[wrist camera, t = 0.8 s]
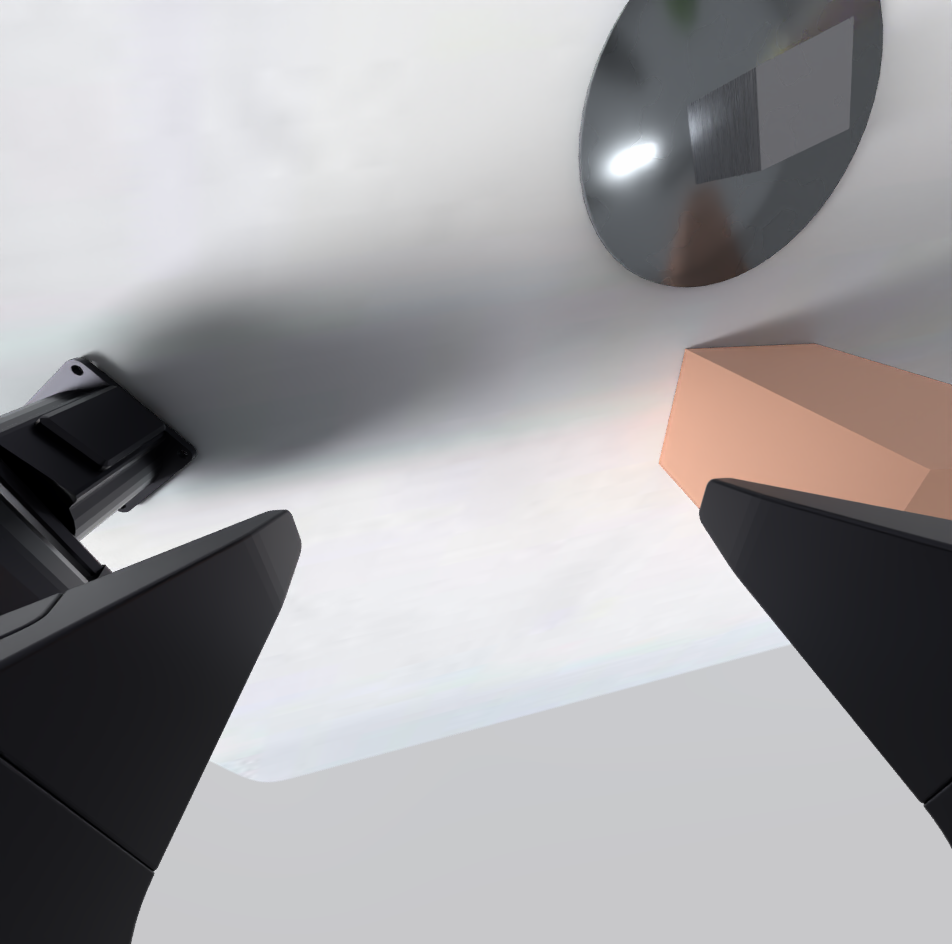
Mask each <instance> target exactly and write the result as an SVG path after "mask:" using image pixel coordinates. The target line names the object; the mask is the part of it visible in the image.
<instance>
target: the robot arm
mask: <svg viewBox="0 0 952 944" xmlns="http://www.w3.org/2000/svg"><path fill="white" fill-rule="evenodd" d="M78 366H79V367H81V368H82V370H83V372H82V371H81V370H80V369H79V368H78ZM182 450H183V451H185V452H186V453H187V455H186V454H184V453H183V452H182ZM196 455H197V451H196V449H195V448H194V447H193V446H192V445H191V444H190V443H188V442H187V441H186V440H185V439H184V438H182V437H181V436H180V435H179V434H178V433H176V432H175V431H174V430H173V429H171V428H170V427H169V426H168V425H167V424H165V423H164V422H163V421H162V420H160V419H159V418H158V417H157V416H156V415H154V414H153V413H152V412H151V411H149V410H148V409H147V408H146V407H145V406H143V405H142V404H141V403H140V402H138V401H137V400H136V399H135V398H134V397H132V396H131V395H130V394H129V393H128V392H126V391H125V390H124V389H123V388H121V387H120V386H119V385H118V384H117V383H115V382H114V381H113V380H112V379H110V378H109V377H108V376H107V375H106V374H104V373H103V372H102V371H101V370H99V369H98V368H97V367H96V366H95V365H93V364H92V363H91V362H90V361H88V360H86V359H84V358H74V359H71V360H68V361H67V362H66V363H65V364H64V365H63V366H62V367H61V368H60V369H59V370H58V371H57V372H56V373H55V374H54V375H53V376H52V377H51V378H50V379H49V380H48V381H47V382H46V383H45V385H44V386H43V387H42V388H41V389H40V390H39V391H38V392H37V393H36V394H35V395H34V396H33V397H32V398H31V399H30V400H29V401H28V402H27V403H26V404H25V405H24V406H23V407H21V408H19V409H16V410H14V411H11V412H9V413H6V414H3V415H1V416H0V944H131V941H132V936H133V932H134V928H135V923H136V920H137V917H138V914H139V911H140V908H141V905H142V902H143V899H144V897H145V894H146V892H147V889H148V887H149V885H150V883H151V880H152V878H153V876H154V871H155V870H156V869H157V868H158V866H159V864H160V862H161V859H162V857H163V855H164V853H165V851H166V849H167V847H168V845H169V843H170V841H171V838H172V836H173V834H174V832H175V830H176V828H177V826H178V824H179V822H180V820H181V818H182V816H183V813H184V811H185V809H186V807H187V805H188V803H189V801H190V799H191V797H192V795H193V792H194V790H195V788H196V786H197V784H198V782H199V780H200V778H201V776H202V774H203V772H204V769H205V767H206V765H207V763H208V761H209V759H210V757H211V755H212V753H213V751H214V749H215V747H216V744H217V742H218V740H219V738H220V736H221V734H222V732H223V730H224V728H225V726H226V724H227V721H228V719H229V717H230V715H231V713H232V711H233V709H234V707H235V705H236V703H237V701H238V698H239V696H240V694H241V692H242V690H243V688H244V686H245V684H246V682H247V680H248V678H249V675H250V673H251V671H252V669H253V667H254V665H255V663H256V661H257V659H258V657H259V655H260V652H261V650H262V648H263V646H264V644H265V642H266V640H267V638H268V636H269V634H270V632H271V629H272V627H273V625H274V623H275V621H276V619H277V617H278V615H279V612H280V610H281V608H282V606H283V603H284V600H285V598H286V595H287V592H288V589H289V586H290V583H291V580H292V577H293V574H294V571H295V568H296V565H297V562H298V559H299V556H300V553H301V539H300V536H299V533H298V530H297V528H296V525H295V522H294V519H293V516H292V514H291V513H290V512H289V511H288V510H272V511H267V512H265V513H262V514H259V515H257V516H254V517H252V518H249V519H247V520H244V521H242V522H239V523H237V524H234V525H232V526H229V527H227V528H224V529H222V530H219V531H216V532H214V533H211V534H209V535H206V536H204V537H201V538H199V539H196V540H194V541H191V542H189V543H186V544H184V545H181V546H179V547H176V548H173V549H171V550H168V551H166V552H163V553H161V554H158V555H156V556H153V557H151V558H148V559H146V560H143V561H141V562H138V563H136V564H133V565H130V566H128V567H125V568H123V569H120V570H118V571H115V572H113V573H112V571H111V570H110V569H109V568H108V567H107V566H106V565H101V564H100V563H99V562H98V560H97V559H96V558H95V557H94V556H93V555H92V554H91V553H90V552H89V551H88V550H87V549H86V548H85V547H84V546H83V545H82V544H81V543H80V540H81V539H83V538H84V537H85V536H86V535H88V534H89V533H90V532H91V531H93V530H94V529H95V528H96V527H97V526H99V525H100V524H101V523H102V522H104V521H105V520H106V519H107V518H109V517H110V516H111V515H112V514H113V513H115V512H116V511H117V510H118V511H120V512H128V511H130V510H131V509H132V508H134V507H135V506H136V505H137V504H139V503H140V502H141V501H142V500H143V499H145V498H146V497H147V496H148V495H150V494H151V493H152V492H153V491H155V490H156V489H157V488H158V487H159V486H161V485H162V484H163V483H164V482H166V481H167V480H168V479H169V478H171V477H172V476H173V475H174V474H176V473H177V472H178V471H179V470H180V469H182V468H183V467H184V466H185V465H187V464H188V463H189V462H190V461H192V460H193V459H194V458H195V457H196ZM699 516H700V520H701V523H702V524H703V526H704V527H705V529H706V531H707V532H708V534H709V535H710V537H711V538H712V540H713V541H714V543H715V545H716V546H717V548H718V549H719V551H720V552H721V554H722V555H723V557H724V558H725V560H726V562H727V563H728V565H729V566H730V568H731V569H732V570H733V572H734V573H735V575H736V576H737V577H738V578H739V580H740V581H741V582H742V583H743V585H744V586H745V587H746V588H747V590H748V591H749V592H750V593H751V595H752V596H753V597H754V598H755V599H756V601H757V602H758V603H759V604H760V606H761V607H762V608H763V609H764V611H765V612H766V613H767V614H768V615H769V617H770V618H771V619H772V620H773V622H774V623H775V624H776V625H777V627H778V628H779V629H780V630H781V631H782V633H783V634H784V635H785V636H786V638H787V639H788V640H789V641H790V643H791V644H792V645H793V646H794V647H795V648H796V650H797V651H798V652H799V654H800V655H801V656H802V657H803V659H804V660H805V661H806V662H807V663H808V665H809V666H810V667H811V668H812V670H813V671H814V672H815V673H816V675H817V676H818V677H819V678H820V679H821V680H822V682H823V683H824V684H825V685H826V687H827V688H828V689H829V691H830V692H831V693H832V694H833V695H834V696H835V698H836V699H837V700H838V702H839V703H840V704H841V705H842V707H843V708H844V709H845V710H846V711H847V712H848V714H849V715H850V716H851V717H852V719H853V720H854V721H855V723H856V724H857V725H858V726H859V727H860V729H861V730H862V731H863V732H864V734H865V735H866V736H867V737H868V738H869V740H870V741H871V742H872V743H873V745H874V746H875V747H876V748H877V749H878V751H879V752H880V753H881V755H882V756H883V757H884V758H885V759H886V761H887V762H888V763H889V764H890V766H891V767H892V768H893V769H894V770H895V772H896V773H897V774H898V775H899V776H900V778H901V779H902V780H903V782H904V783H905V784H906V785H907V787H908V788H909V789H910V790H911V792H912V793H913V794H914V795H915V796H916V798H917V799H918V800H919V801H920V802H921V803H924V807H925V809H926V810H927V811H928V813H929V814H930V815H931V817H932V818H933V819H934V821H935V822H936V824H937V825H938V826H939V828H940V829H941V831H942V832H943V834H944V836H945V838H946V839H947V841H948V842H949V844H950V846H951V848H952V520H948V519H943V518H938V517H933V516H927V515H922V514H917V513H912V512H906V511H901V510H896V509H891V508H886V507H880V506H875V505H870V504H865V503H860V502H854V501H849V500H844V499H839V498H834V497H828V496H823V495H818V494H813V493H808V492H802V491H797V490H792V489H787V488H781V487H776V486H771V485H766V484H761V483H755V482H750V481H745V480H740V479H735V478H715V479H711V480H710V481H709V482H708V483H707V485H706V488H705V492H704V495H703V499H702V502H701V506H700V510H699Z"/></svg>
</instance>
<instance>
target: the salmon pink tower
mask: <svg viewBox="0 0 952 944" xmlns="http://www.w3.org/2000/svg"><path fill="white" fill-rule="evenodd" d="M659 464H660V466H661V467H662V468H663V469H664V470H665V471H666V472H667V473H668V475H669V476H670V477H671V478H672V479H673V480H674V481H675V482H676V483H677V485H678V486H679V487H680V488H681V489H682V490H683V491H684V492H685V494H686V495H687V496H688V497H689V498H690V499H691V500H692V501H693V503H694V504H695V505H696V506H697V507H698V508H699V509H700V506H701V502H702V499H703V495H704V492H705V488H706V485H707V483H708V482H709V481H710V480H711V479H715V478H735V479H740V480H745V481H750V482H755V483H761V484H766V485H771V486H776V487H781V488H787V489H792V490H797V491H802V492H808V493H813V494H818V495H823V496H828V497H834V498H839V499H844V500H849V501H854V502H860V503H865V504H870V505H875V506H880V507H886V508H891V509H896V510H901V511H906V512H912V513H917V514H922V515H927V516H933V517H938V518H943V519H948V520H952V385H951V384H947V383H944V382H941V381H938V380H934V379H931V378H928V377H924V376H921V375H918V374H914V373H911V372H908V371H904V370H901V369H898V368H894V367H891V366H888V365H884V364H881V363H878V362H874V361H871V360H868V359H865V358H861V357H858V356H855V355H851V354H848V353H845V352H841V351H838V350H835V349H831V348H828V347H825V346H821V345H818V344H815V343H814V344H790V345H766V346H743V347H719V348H695V349H685V353H684V358H683V362H682V366H681V370H680V375H679V379H678V383H677V388H676V392H675V396H674V400H673V405H672V409H671V413H670V417H669V422H668V426H667V430H666V435H665V439H664V443H663V447H662V452H661V456H660V460H659Z"/></svg>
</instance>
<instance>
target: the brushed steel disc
mask: <svg viewBox="0 0 952 944" xmlns="http://www.w3.org/2000/svg"><path fill="white" fill-rule="evenodd" d="M882 39H883V24H882V14H881V5H880V0H629V2H628V3H627V5H626V6H625V7H624V9H623V10H622V12H621V14H620V16H619V17H618V19H617V21H616V23H615V24H614V26H613V28H612V30H611V31H610V33H609V35H608V37H607V40H606V42H605V44H604V46H603V49H602V51H601V53H600V55H599V57H598V60H597V63H596V66H595V69H594V72H593V74H592V77H591V80H590V83H589V87H588V91H587V95H586V99H585V104H584V108H583V113H582V121H581V128H580V136H579V170H580V181H581V187H582V192H583V198H584V202H585V205H586V208H587V212H588V215H589V218H590V220H591V222H592V225H593V227H594V229H595V231H596V233H597V235H598V237H599V238H600V240H601V241H602V243H603V244H604V246H605V248H606V249H607V250H608V251H609V252H610V253H611V255H612V256H613V257H614V258H615V259H616V260H617V261H618V262H619V263H620V264H622V265H623V266H624V267H625V268H627V269H628V270H629V271H631V272H633V273H634V274H636V275H638V276H640V277H642V278H644V279H647V280H650V281H652V282H655V283H659V284H664V285H669V286H674V287H697V286H706V285H710V284H714V283H719V282H722V281H725V280H728V279H730V278H733V277H736V276H738V275H740V274H742V273H744V272H746V271H748V270H750V269H752V268H754V267H756V266H757V265H759V264H760V263H762V262H764V261H765V260H767V259H768V258H770V257H771V256H773V255H774V254H775V253H776V252H778V251H779V250H780V249H781V248H783V247H784V246H785V245H786V244H788V243H789V242H790V241H791V240H792V239H793V238H794V237H795V236H796V235H797V234H798V233H799V232H800V231H801V230H802V229H803V228H804V227H805V226H806V225H807V224H808V223H809V221H810V220H811V219H812V218H813V217H814V216H815V215H816V213H817V212H818V211H819V210H820V208H821V207H822V206H823V204H824V203H825V202H826V200H827V199H828V198H829V196H830V195H831V194H832V192H833V190H834V189H835V187H836V186H837V184H838V182H839V181H840V179H841V178H842V176H843V174H844V173H845V171H846V169H847V167H848V165H849V163H850V161H851V159H852V157H853V155H854V153H855V151H856V149H857V147H858V144H859V142H860V140H861V137H862V135H863V132H864V130H865V128H866V125H867V121H868V118H869V115H870V112H871V109H872V106H873V102H874V98H875V94H876V89H877V84H878V80H879V74H880V66H881V58H882Z"/></svg>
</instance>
